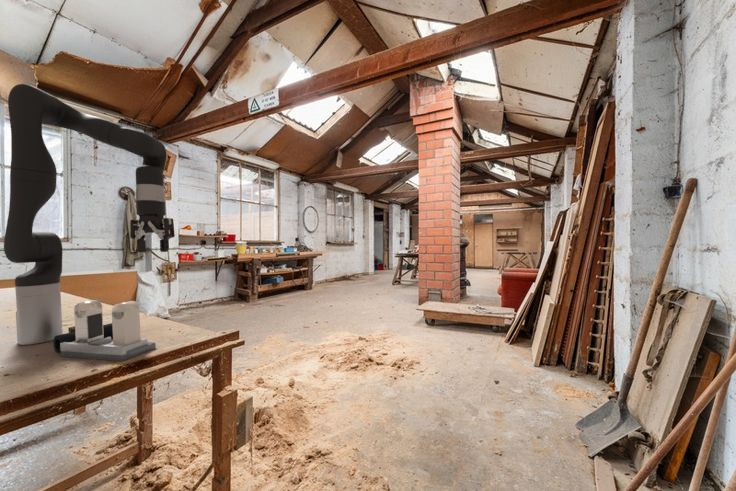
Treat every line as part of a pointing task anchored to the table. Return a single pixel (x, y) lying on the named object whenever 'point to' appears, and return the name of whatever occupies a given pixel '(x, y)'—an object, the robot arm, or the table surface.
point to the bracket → (98, 337)
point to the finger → (126, 323)
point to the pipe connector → (72, 337)
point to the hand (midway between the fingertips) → (153, 252)
